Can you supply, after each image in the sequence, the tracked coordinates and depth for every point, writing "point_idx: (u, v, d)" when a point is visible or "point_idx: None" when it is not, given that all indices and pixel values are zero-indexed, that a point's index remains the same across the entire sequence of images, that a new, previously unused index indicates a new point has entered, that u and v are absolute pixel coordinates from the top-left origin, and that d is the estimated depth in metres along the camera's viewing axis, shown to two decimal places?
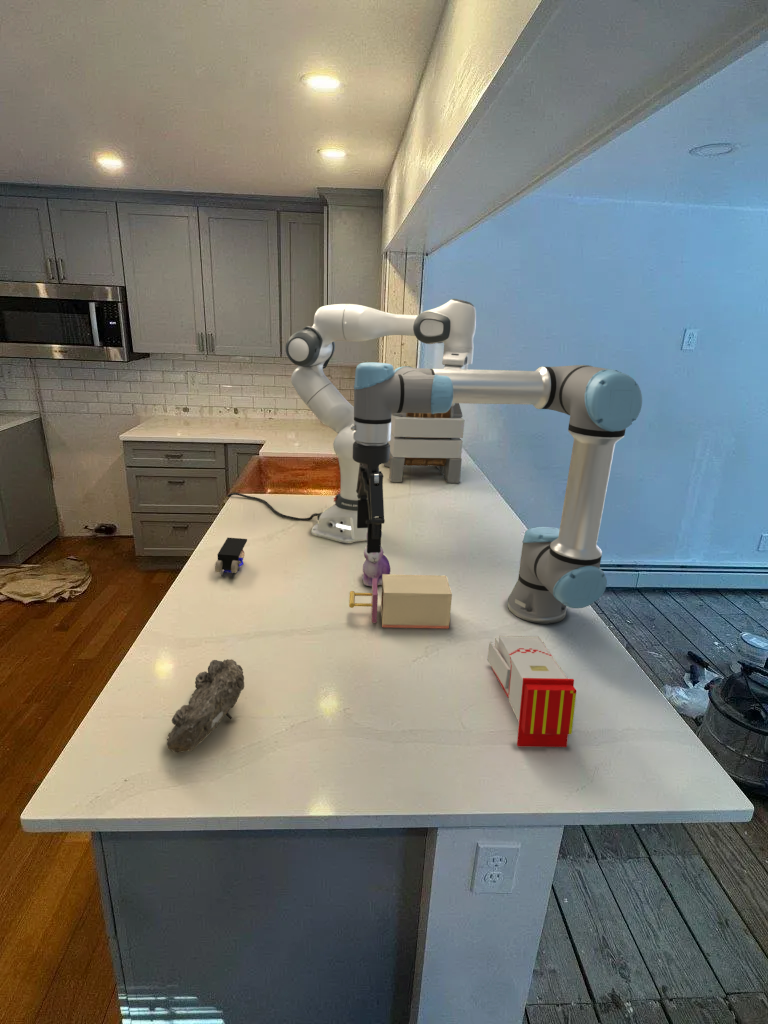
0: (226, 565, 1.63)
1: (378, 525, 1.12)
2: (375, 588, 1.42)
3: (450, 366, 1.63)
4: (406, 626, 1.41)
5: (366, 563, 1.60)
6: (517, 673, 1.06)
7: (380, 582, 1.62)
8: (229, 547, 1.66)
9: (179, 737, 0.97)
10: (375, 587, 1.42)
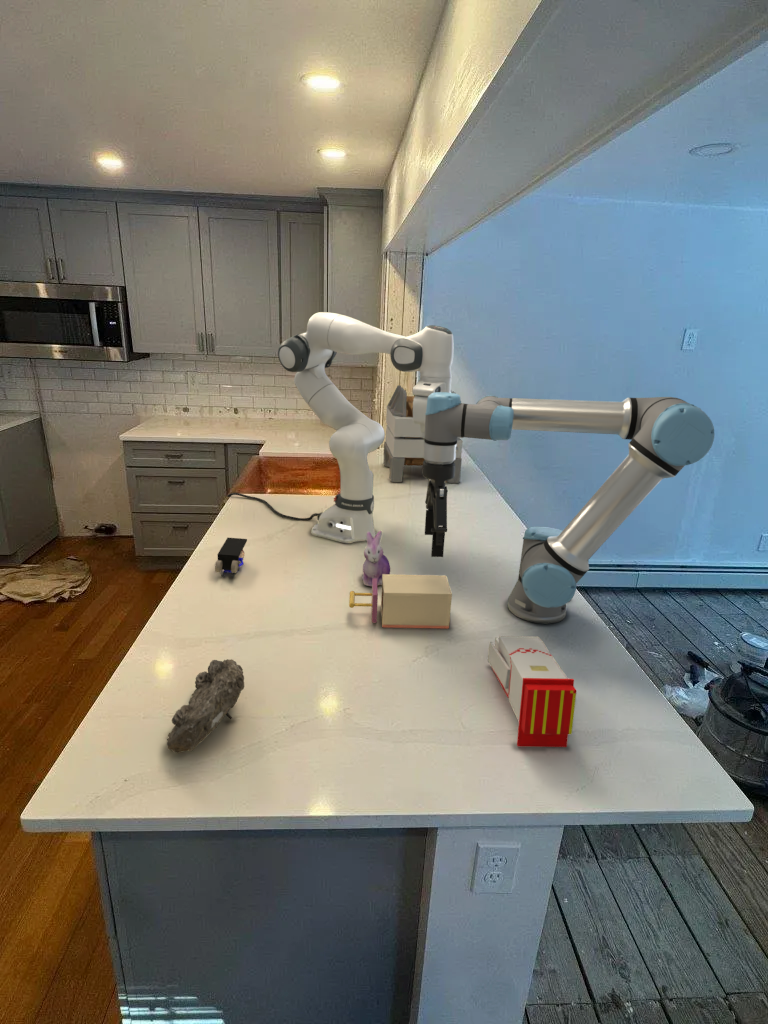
0: (226, 565, 1.63)
1: None
2: (375, 588, 1.42)
3: (420, 397, 1.53)
4: (406, 626, 1.41)
5: (366, 563, 1.60)
6: (517, 673, 1.06)
7: (380, 582, 1.62)
8: (229, 547, 1.66)
9: (179, 737, 0.97)
10: (375, 587, 1.42)
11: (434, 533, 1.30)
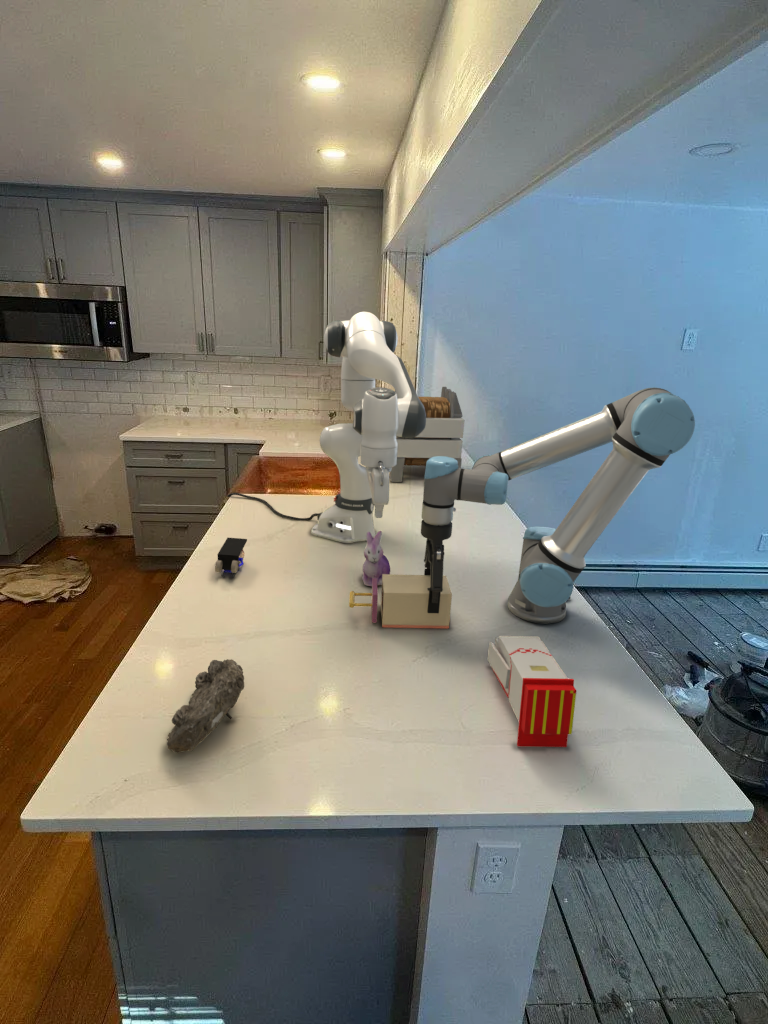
0: (226, 565, 1.63)
1: None
2: (375, 588, 1.42)
3: None
4: (406, 626, 1.41)
5: (366, 563, 1.60)
6: (517, 673, 1.06)
7: (380, 582, 1.62)
8: (229, 547, 1.66)
9: (179, 737, 0.97)
10: (375, 587, 1.42)
11: (430, 591, 1.37)
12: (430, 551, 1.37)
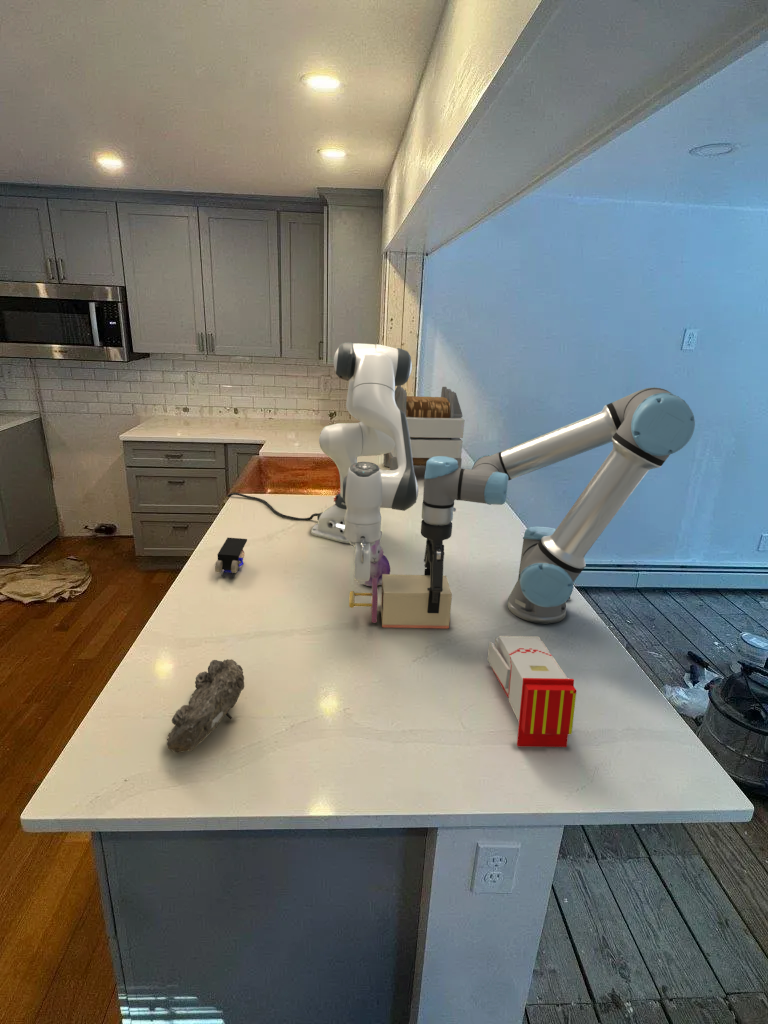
0: (226, 565, 1.63)
1: None
2: (375, 588, 1.42)
3: None
4: (406, 626, 1.41)
5: None
6: (517, 673, 1.06)
7: (380, 582, 1.62)
8: (229, 547, 1.66)
9: (179, 737, 0.97)
10: (375, 587, 1.42)
11: (430, 591, 1.37)
12: (430, 551, 1.37)
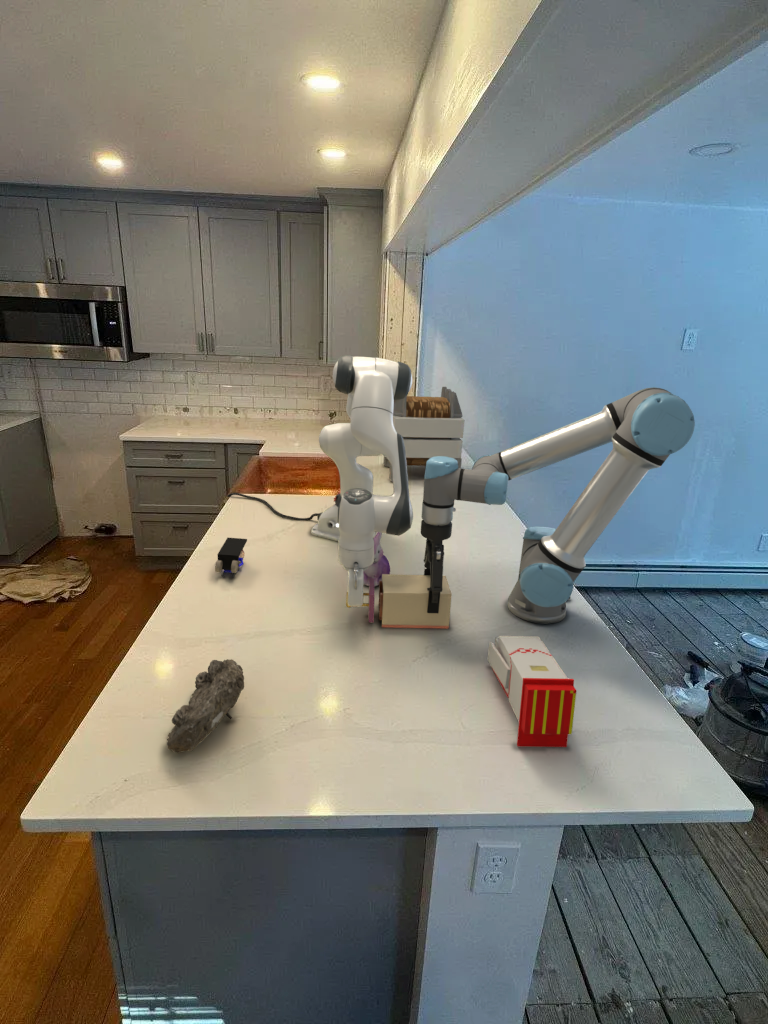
0: (226, 565, 1.63)
1: None
2: (372, 588, 1.42)
3: None
4: (406, 626, 1.41)
5: None
6: (517, 673, 1.06)
7: None
8: (229, 547, 1.66)
9: (179, 737, 0.97)
10: (372, 587, 1.42)
11: (430, 591, 1.37)
12: (430, 551, 1.37)
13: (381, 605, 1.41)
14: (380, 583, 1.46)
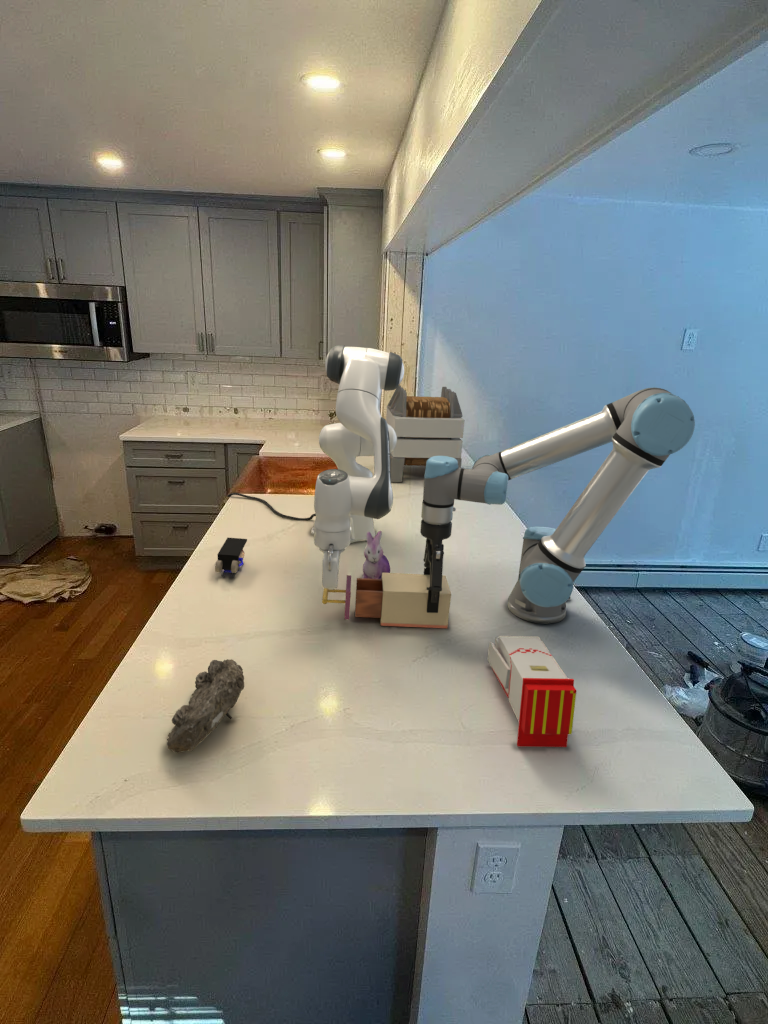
0: (226, 565, 1.63)
1: None
2: (348, 585, 1.41)
3: None
4: (404, 625, 1.41)
5: (366, 563, 1.60)
6: (517, 673, 1.06)
7: None
8: (229, 547, 1.66)
9: (179, 737, 0.97)
10: (349, 584, 1.42)
11: (430, 591, 1.37)
12: (430, 551, 1.37)
13: (357, 602, 1.40)
14: (357, 580, 1.45)
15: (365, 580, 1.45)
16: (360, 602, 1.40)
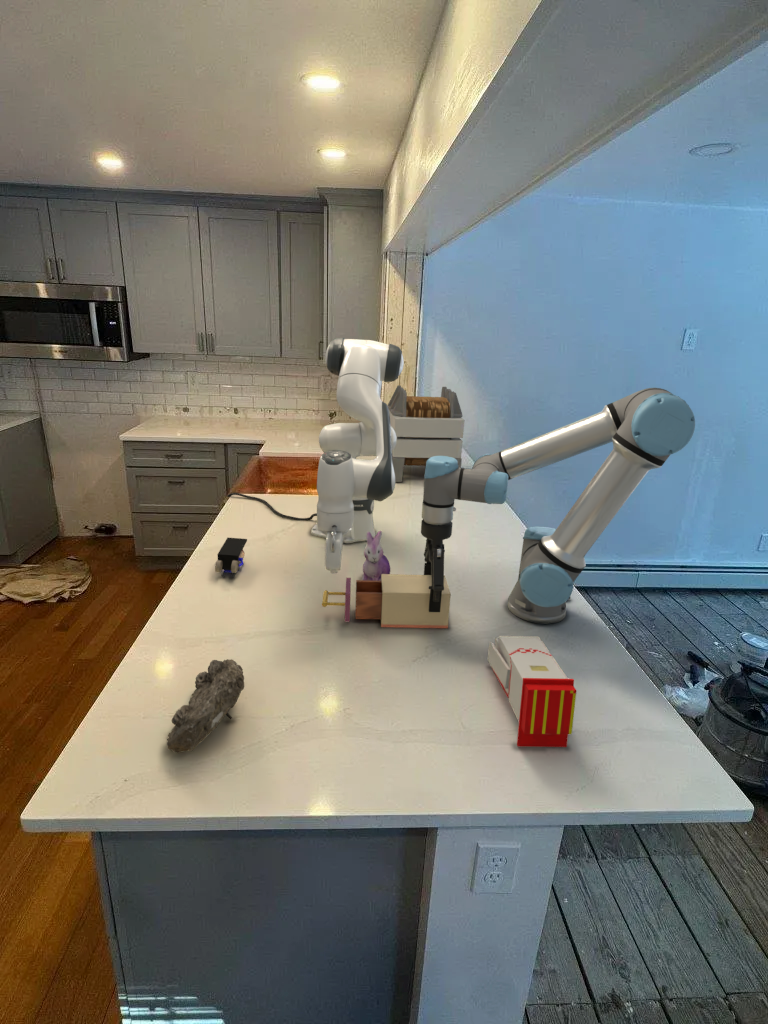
0: (226, 565, 1.63)
1: None
2: (348, 587, 1.41)
3: None
4: (405, 626, 1.41)
5: (366, 563, 1.60)
6: (517, 673, 1.06)
7: None
8: (229, 547, 1.66)
9: (179, 737, 0.97)
10: (348, 586, 1.42)
11: (431, 590, 1.36)
12: (430, 551, 1.37)
13: (357, 604, 1.40)
14: (357, 582, 1.46)
15: (365, 582, 1.46)
16: (360, 604, 1.40)
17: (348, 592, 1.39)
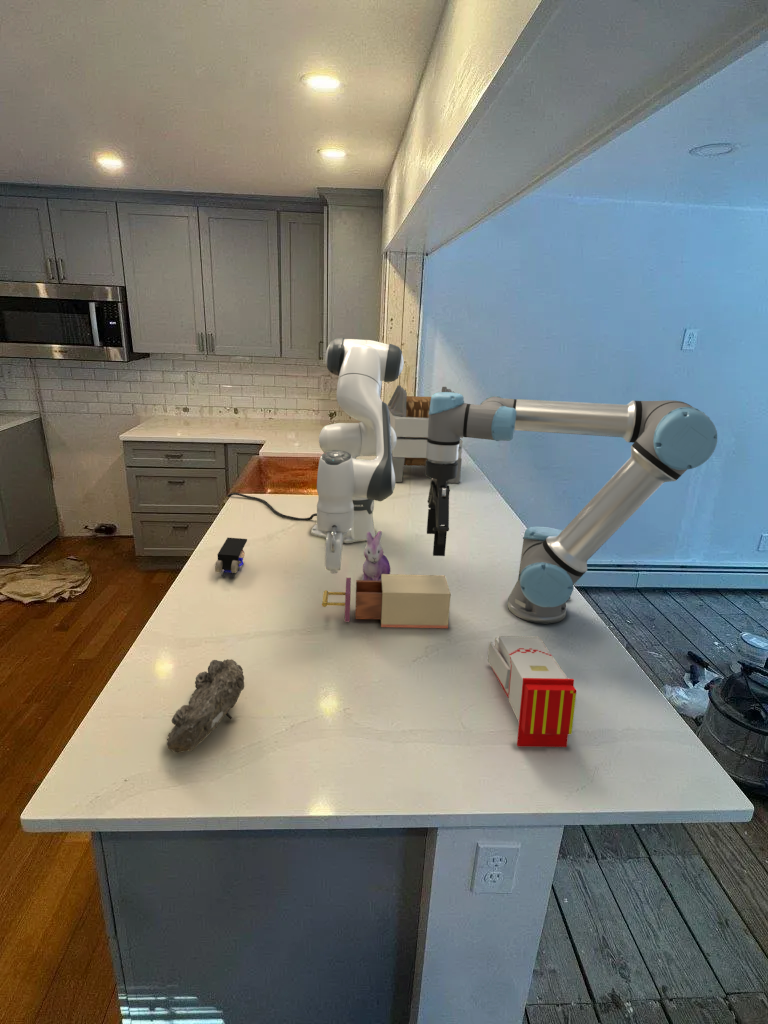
0: (226, 565, 1.63)
1: None
2: (348, 587, 1.41)
3: None
4: (405, 626, 1.41)
5: (366, 563, 1.60)
6: (517, 673, 1.06)
7: None
8: (229, 547, 1.66)
9: (179, 737, 0.97)
10: (348, 586, 1.42)
11: (436, 532, 1.31)
12: (435, 492, 1.32)
13: (357, 604, 1.40)
14: (357, 582, 1.46)
15: (365, 582, 1.46)
16: (360, 604, 1.40)
17: (348, 592, 1.39)
